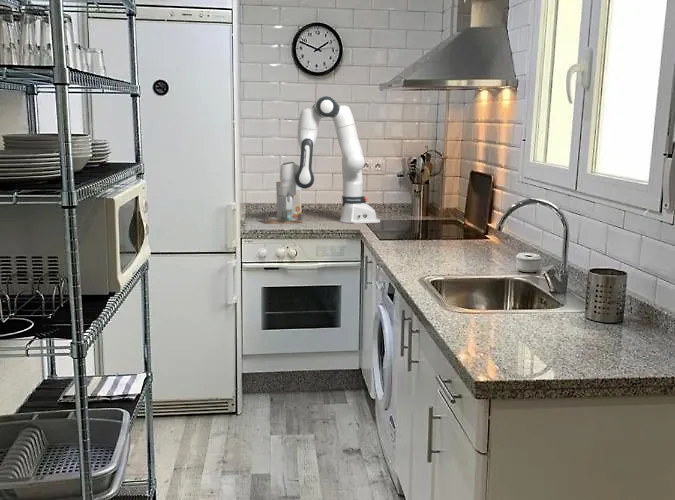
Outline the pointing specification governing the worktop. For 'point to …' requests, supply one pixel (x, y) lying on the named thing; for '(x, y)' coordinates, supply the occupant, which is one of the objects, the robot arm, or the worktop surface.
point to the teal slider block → (286, 216)
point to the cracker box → (296, 202)
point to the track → (281, 219)
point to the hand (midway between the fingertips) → (288, 217)
